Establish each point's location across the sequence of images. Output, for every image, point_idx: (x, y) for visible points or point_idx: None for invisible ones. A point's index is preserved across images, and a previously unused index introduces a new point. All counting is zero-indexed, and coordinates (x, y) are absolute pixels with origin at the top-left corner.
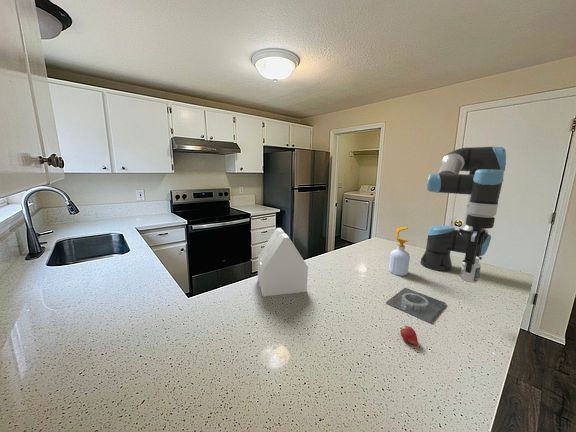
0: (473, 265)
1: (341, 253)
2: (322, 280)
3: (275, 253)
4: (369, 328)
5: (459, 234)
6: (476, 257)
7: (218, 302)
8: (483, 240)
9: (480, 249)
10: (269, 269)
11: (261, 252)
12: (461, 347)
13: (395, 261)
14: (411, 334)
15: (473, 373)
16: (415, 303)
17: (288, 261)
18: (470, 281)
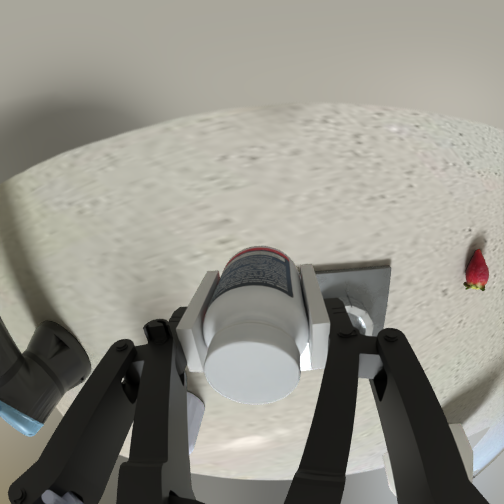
0: (328, 321)
1: (219, 472)
2: (368, 441)
3: (471, 473)
4: (471, 321)
5: None
6: (242, 358)
7: (486, 420)
8: (125, 480)
9: (113, 381)
10: (468, 453)
11: None
12: (428, 185)
13: (195, 433)
14: (487, 268)
15: (474, 154)
16: (365, 324)
17: None
18: (312, 267)
